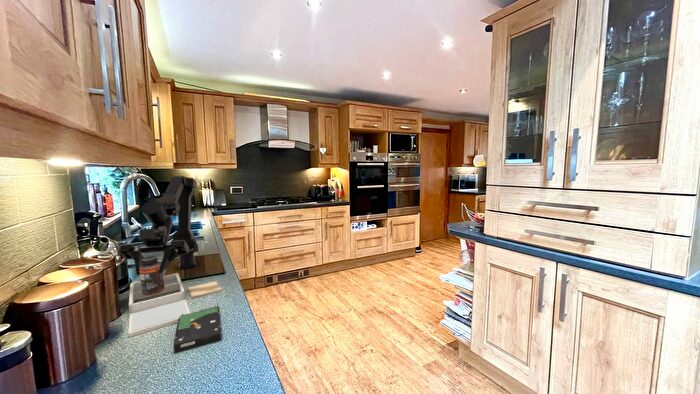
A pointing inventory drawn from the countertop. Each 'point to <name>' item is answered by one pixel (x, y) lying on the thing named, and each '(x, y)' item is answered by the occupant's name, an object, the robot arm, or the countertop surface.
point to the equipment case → (156, 306)
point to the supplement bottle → (151, 276)
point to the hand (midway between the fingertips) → (149, 273)
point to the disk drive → (197, 329)
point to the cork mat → (204, 289)
